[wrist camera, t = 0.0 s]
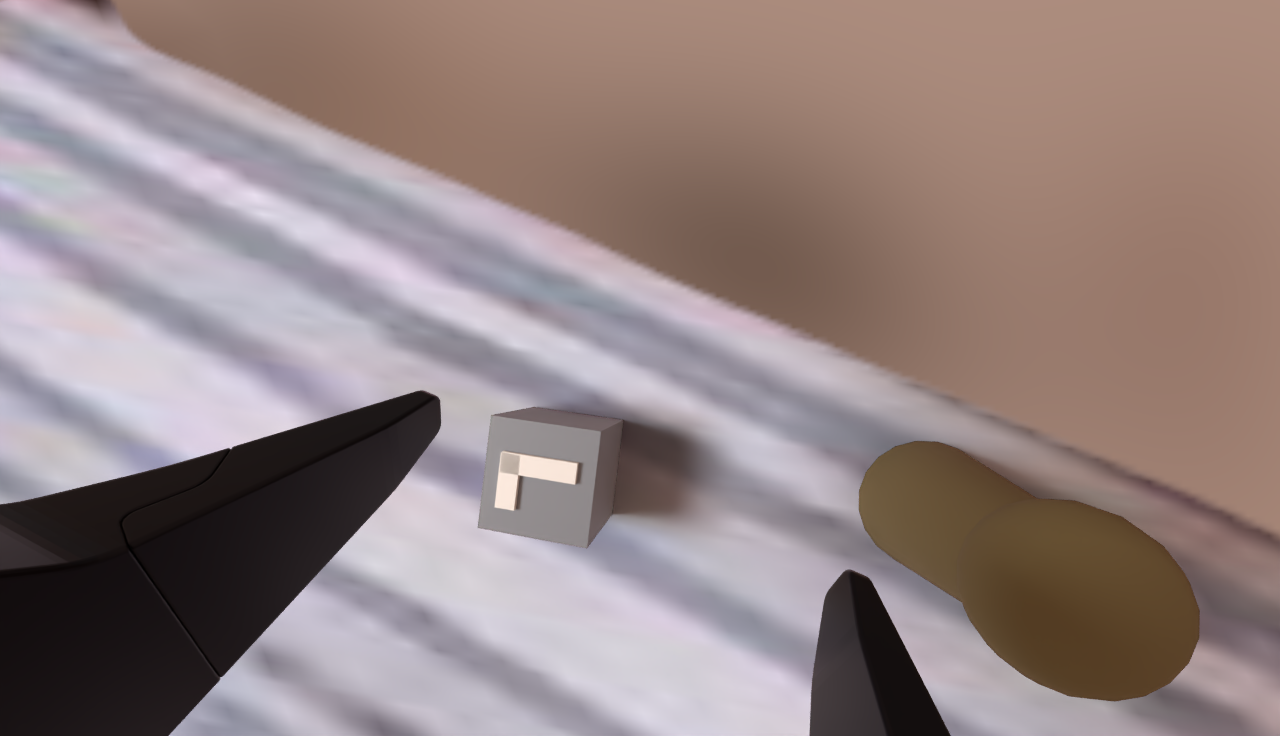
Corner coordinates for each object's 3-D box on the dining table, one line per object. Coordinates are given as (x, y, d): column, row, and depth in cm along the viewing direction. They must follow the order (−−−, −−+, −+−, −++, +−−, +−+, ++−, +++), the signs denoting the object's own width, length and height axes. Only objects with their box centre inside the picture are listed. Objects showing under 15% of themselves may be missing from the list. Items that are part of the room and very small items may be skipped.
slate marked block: (612, 513, 25) (585, 550, 20) (523, 498, 26) (475, 529, 21) (623, 419, 25) (600, 432, 20) (533, 407, 26) (488, 415, 21)
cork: (984, 433, 22) (1237, 491, 12) (1005, 563, 22) (1281, 746, 11) (849, 448, 23) (964, 514, 12) (868, 572, 23) (1001, 750, 12)
